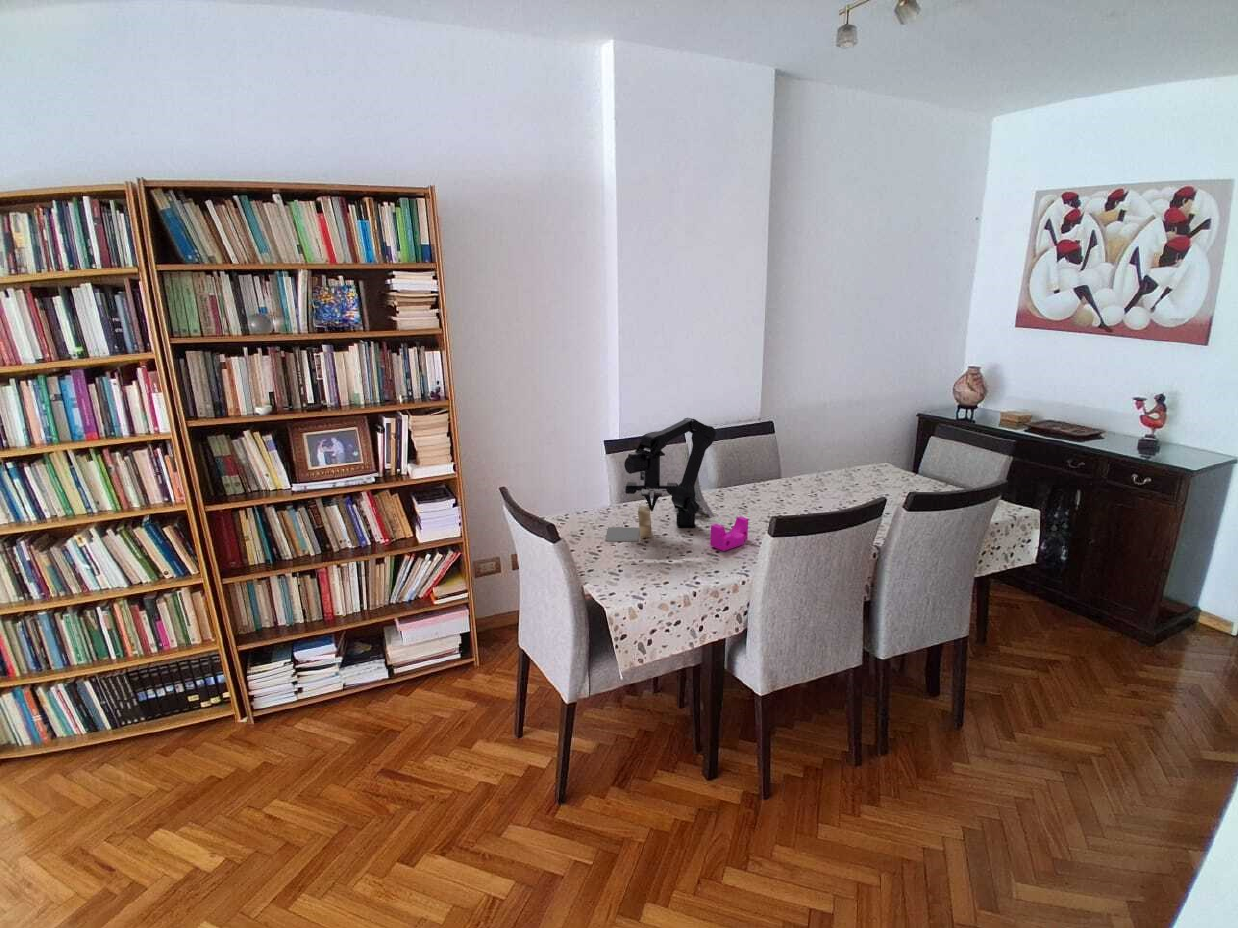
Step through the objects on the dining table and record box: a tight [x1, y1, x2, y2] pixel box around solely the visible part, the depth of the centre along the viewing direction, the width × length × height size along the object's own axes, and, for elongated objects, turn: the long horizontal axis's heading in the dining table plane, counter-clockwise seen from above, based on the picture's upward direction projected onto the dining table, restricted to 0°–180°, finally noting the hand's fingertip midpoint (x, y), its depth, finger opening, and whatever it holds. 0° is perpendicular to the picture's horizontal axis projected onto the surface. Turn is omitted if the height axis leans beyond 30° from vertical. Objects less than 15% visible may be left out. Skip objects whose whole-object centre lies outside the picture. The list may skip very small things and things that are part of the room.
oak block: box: [637, 505, 653, 539], centre depth 231 cm, size 4×6×10 cm, turn 176°
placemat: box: [604, 526, 640, 543], centre depth 233 cm, size 12×14×1 cm
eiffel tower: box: [672, 444, 717, 518], centre depth 251 cm, size 13×13×30 cm
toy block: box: [709, 516, 749, 552], centre depth 224 cm, size 15×6×8 cm, turn 128°
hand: (651, 511), depth 230 cm, fingers closed
